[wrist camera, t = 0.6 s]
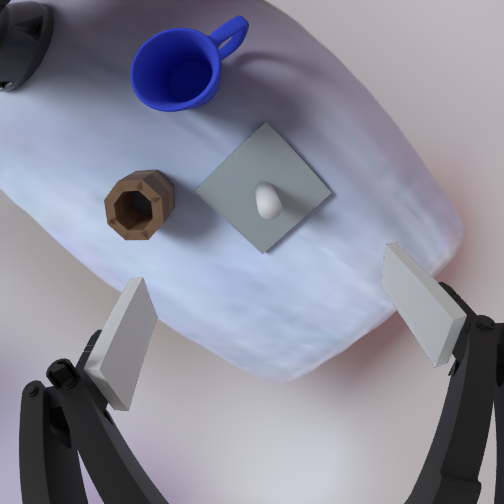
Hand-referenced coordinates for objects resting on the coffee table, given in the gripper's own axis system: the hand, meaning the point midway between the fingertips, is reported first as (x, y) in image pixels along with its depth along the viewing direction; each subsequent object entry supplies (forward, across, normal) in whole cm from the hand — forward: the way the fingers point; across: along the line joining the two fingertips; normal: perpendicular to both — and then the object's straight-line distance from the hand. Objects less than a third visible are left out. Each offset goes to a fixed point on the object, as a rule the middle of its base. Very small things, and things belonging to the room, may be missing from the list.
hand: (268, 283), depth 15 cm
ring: (+23, -13, 0) cm, 26 cm away
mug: (+23, -4, +15) cm, 28 cm away
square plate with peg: (+23, +2, -1) cm, 23 cm away
